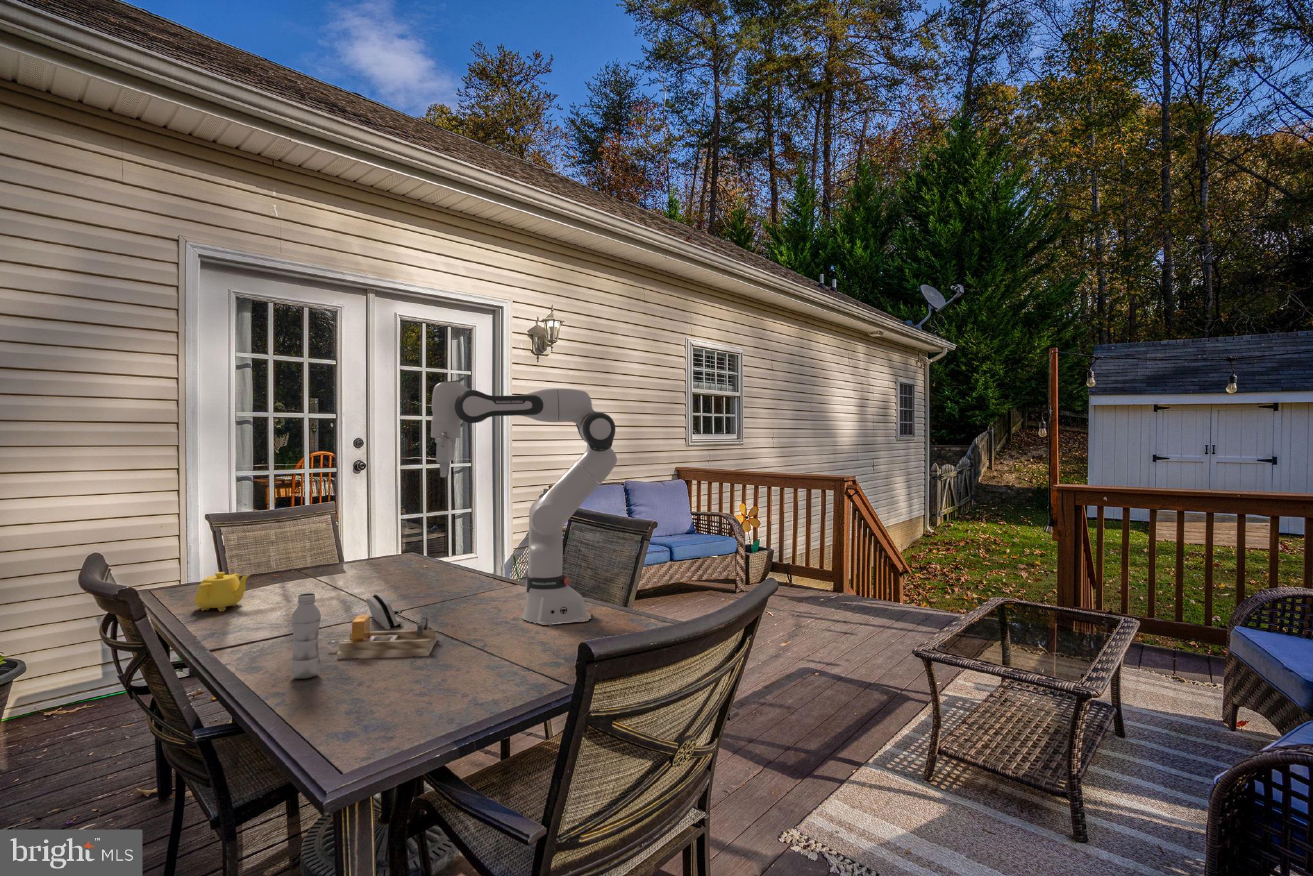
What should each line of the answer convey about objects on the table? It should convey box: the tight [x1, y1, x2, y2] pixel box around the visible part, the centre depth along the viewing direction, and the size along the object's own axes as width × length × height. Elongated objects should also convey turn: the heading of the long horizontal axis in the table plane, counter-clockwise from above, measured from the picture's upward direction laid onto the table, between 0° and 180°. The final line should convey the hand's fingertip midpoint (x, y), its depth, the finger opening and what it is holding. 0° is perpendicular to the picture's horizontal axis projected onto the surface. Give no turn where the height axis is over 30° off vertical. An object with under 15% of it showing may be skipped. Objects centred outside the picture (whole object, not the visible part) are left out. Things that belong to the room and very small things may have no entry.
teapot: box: [194, 571, 251, 611], centre depth 213 cm, size 14×14×12 cm
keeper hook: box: [416, 616, 430, 637], centre depth 181 cm, size 2×8×5 cm, turn 10°
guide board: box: [336, 629, 438, 660], centre depth 177 cm, size 23×14×4 cm, turn 100°
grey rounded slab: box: [366, 592, 404, 630], centre depth 201 cm, size 17×5×10 cm, turn 38°
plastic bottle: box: [289, 592, 322, 680], centre depth 156 cm, size 6×7×20 cm
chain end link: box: [326, 614, 398, 646], centre depth 176 cm, size 18×7×7 cm, turn 100°
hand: (444, 476), depth 202 cm, fingers open, 8 cm apart
